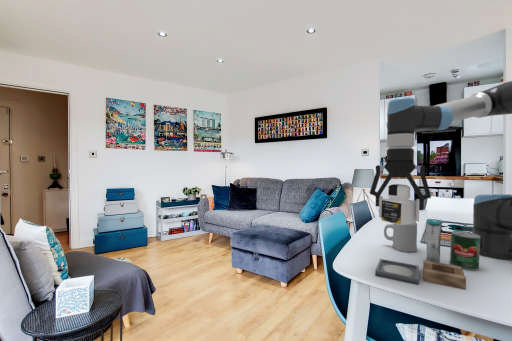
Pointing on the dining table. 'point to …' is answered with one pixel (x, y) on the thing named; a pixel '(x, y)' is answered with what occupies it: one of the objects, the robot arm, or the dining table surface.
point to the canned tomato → (465, 250)
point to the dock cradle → (398, 271)
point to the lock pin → (433, 240)
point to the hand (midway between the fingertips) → (398, 218)
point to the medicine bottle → (399, 206)
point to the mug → (403, 237)
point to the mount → (444, 274)
